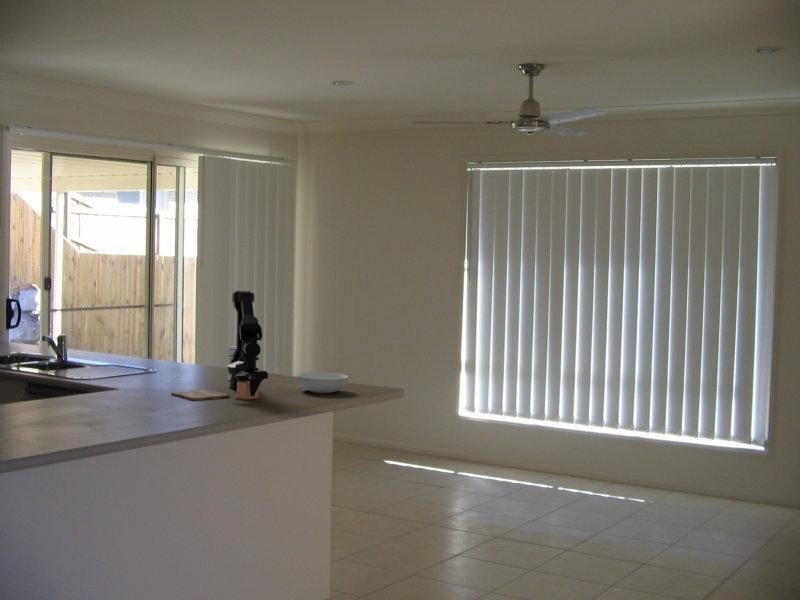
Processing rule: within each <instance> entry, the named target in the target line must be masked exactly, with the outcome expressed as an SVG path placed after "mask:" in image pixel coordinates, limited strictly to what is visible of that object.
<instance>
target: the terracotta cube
mask: <svg viewBox="0 0 800 600" xmlns="http://www.w3.org/2000/svg"><path fill="white" fill-rule="evenodd" d="M259 395H260V386H259V387H258V389H257V391H256V393H255V395H254V396H251V393H250V382H249V381H239V382H237V390H236V398H238V399H243V400H253V399H259V398H260V397H259Z"/></svg>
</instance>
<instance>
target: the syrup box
mask: <svg viewBox="0 0 800 600" xmlns="http://www.w3.org/2000/svg"><path fill="white" fill-rule="evenodd" d="M235 350H236V345H233V346H230V347H227V366H228V365H230V361H231V359H232V355H233V353H234V351H235ZM231 377H232V374H229V372H228V371H227V381H230V380H231Z"/></svg>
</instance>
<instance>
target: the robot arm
mask: <svg viewBox="0 0 800 600" xmlns="http://www.w3.org/2000/svg"><path fill="white" fill-rule="evenodd" d="M231 294H232V296H231V301H232V303H233V309H234V310H235V311H236V345H235V346H236V350H235V351H234V353H233V355H232V359H231V361H230V365H228V364H227V366H226V368H227V373H228V372H229V374H232V377H231V381H230V384H229V385H230V386H229V387H228V388H229V389H233V390H236V391H237V382H239V381H249V382H250V393H251V396H254V395H255V393H256V391H257V389H258V387H259V388H260V385H261V383H262V382H263V381H264V380H266V379H267V380H268V379H269V373H268V371H266V370H263V369H260V370H259V367H257V361H259V360H260V359H259V358H260V357H259V355H260V354H261V351H262V350H261V345H260V344H259V343H258V341H262V338H263V329H262V327H261V325H260V324H259V323H260V322H259V319H258V318H257V316H255V313H254V307H253V305H254V304H253V303H255V292H251V290H235V292H233V293H231Z"/></svg>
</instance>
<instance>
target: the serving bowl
mask: <svg viewBox="0 0 800 600" xmlns="http://www.w3.org/2000/svg"><path fill="white" fill-rule="evenodd" d="M348 380H349V376H348V375H347V374H343V373H339V372H330V371H329V372H327V371H305V372H300V373H296V381H297V383H298V385H299V386H300V387H301V388H303V389H304V390H306V391H309V392H311V393H313V394H331V393H334V392H339V391H342V390H343V389H344V388H345V387H346V385H347V383H348Z"/></svg>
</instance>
